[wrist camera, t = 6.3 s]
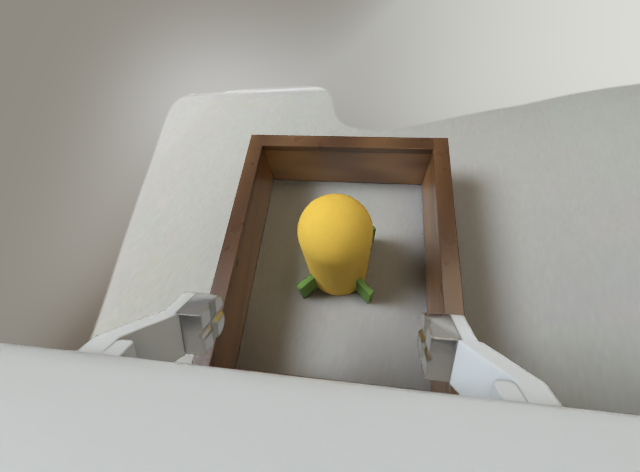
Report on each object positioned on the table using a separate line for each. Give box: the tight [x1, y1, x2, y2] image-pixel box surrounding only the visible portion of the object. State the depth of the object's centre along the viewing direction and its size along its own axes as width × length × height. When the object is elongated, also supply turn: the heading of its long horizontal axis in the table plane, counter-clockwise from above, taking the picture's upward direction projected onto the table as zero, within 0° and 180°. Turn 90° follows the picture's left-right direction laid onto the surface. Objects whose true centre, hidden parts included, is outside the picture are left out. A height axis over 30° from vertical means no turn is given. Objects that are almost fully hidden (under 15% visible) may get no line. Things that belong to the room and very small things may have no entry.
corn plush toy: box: [297, 194, 376, 303], centre depth 20 cm, size 5×5×8 cm
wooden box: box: [192, 135, 465, 395], centre depth 21 cm, size 15×18×5 cm
